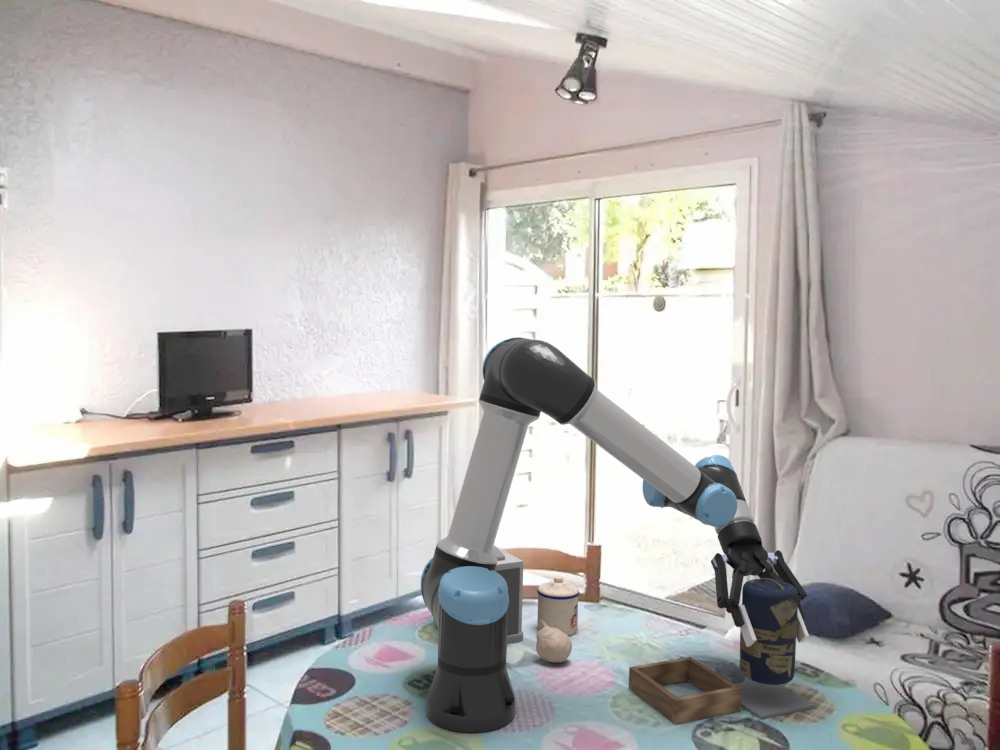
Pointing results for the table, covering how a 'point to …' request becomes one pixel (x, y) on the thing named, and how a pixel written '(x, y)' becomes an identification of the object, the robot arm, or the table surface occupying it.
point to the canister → (770, 631)
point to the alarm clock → (511, 592)
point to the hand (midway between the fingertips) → (778, 641)
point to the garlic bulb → (553, 644)
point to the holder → (711, 703)
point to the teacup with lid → (558, 605)
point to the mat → (770, 699)
